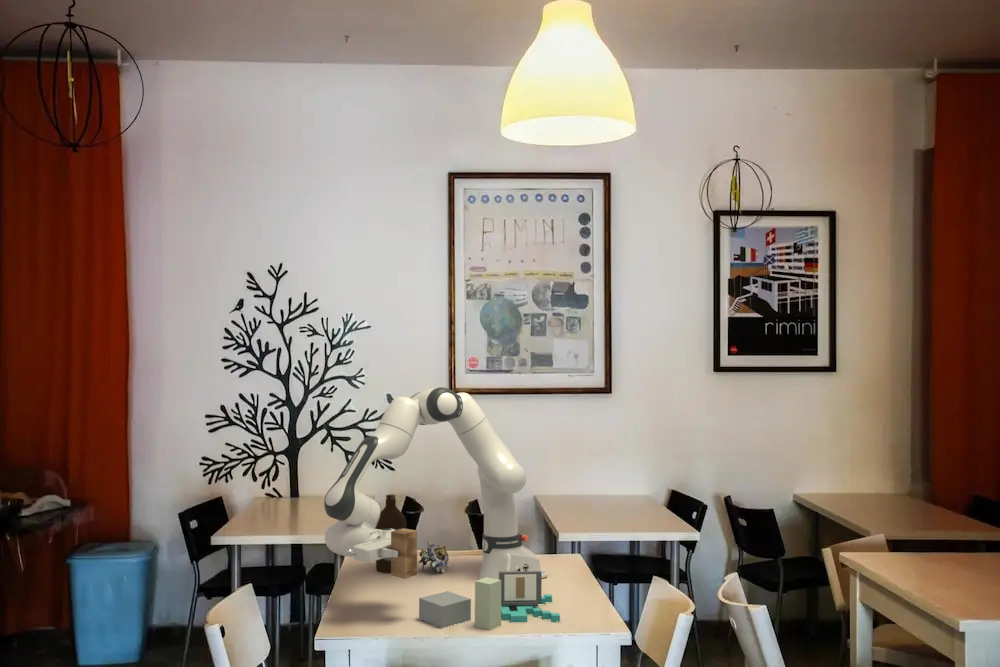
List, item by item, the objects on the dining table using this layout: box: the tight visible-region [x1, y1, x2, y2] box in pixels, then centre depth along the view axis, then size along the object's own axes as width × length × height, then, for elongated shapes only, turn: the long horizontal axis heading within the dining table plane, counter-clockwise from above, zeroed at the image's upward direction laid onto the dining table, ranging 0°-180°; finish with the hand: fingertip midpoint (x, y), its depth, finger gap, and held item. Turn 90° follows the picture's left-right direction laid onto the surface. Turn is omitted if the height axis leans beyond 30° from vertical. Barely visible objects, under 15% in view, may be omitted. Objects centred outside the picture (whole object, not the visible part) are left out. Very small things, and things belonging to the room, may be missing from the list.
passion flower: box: [418, 540, 450, 574], centre depth 278 cm, size 11×11×12 cm
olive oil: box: [375, 493, 407, 574], centre depth 279 cm, size 11×11×25 cm
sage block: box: [474, 577, 502, 631], centre depth 222 cm, size 5×5×12 cm
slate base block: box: [418, 591, 472, 629], centre depth 227 cm, size 10×10×6 cm
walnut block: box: [390, 528, 418, 580], centre depth 228 cm, size 5×5×12 cm
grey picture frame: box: [499, 571, 543, 606], centre depth 236 cm, size 12×5×9 cm, turn 94°
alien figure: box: [501, 594, 561, 623], centre depth 235 cm, size 20×2×20 cm
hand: (406, 551), depth 227 cm, fingers closed on walnut block, 5 cm apart
